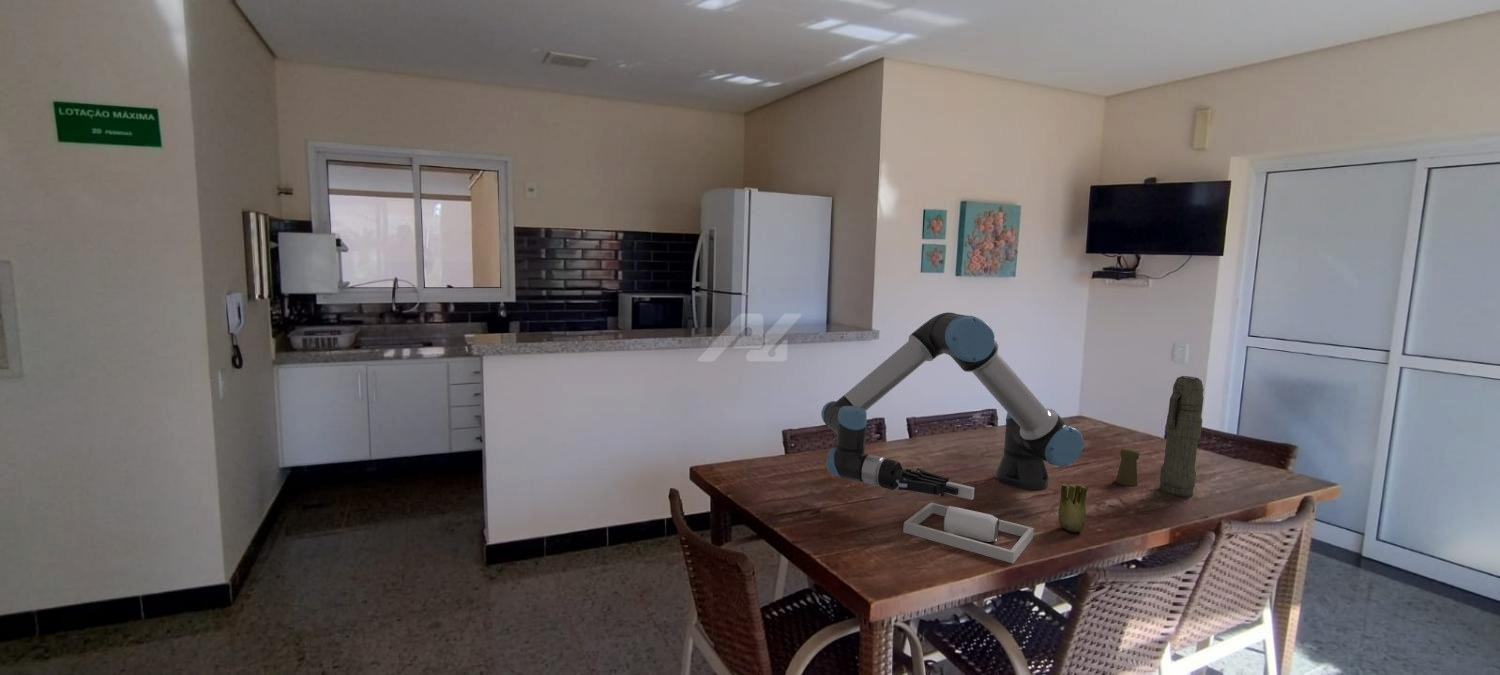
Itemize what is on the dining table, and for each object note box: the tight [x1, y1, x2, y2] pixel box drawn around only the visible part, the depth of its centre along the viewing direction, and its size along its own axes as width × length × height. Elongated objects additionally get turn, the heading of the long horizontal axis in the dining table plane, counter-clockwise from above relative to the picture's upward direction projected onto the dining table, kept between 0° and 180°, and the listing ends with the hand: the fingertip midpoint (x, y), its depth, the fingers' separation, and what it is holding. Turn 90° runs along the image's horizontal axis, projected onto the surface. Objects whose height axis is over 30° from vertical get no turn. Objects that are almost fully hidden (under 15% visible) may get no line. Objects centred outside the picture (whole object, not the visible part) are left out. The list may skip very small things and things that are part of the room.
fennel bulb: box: [1058, 483, 1088, 534], centre depth 170 cm, size 6×5×12 cm
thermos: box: [1158, 375, 1205, 498], centre depth 201 cm, size 9×12×35 cm
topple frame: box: [902, 501, 1035, 564], centre depth 165 cm, size 26×18×2 cm
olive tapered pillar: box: [1115, 447, 1140, 487], centre depth 209 cm, size 6×6×11 cm
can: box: [943, 505, 1000, 543], centre depth 164 cm, size 6×6×12 cm
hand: (972, 493), depth 163 cm, fingers closed
